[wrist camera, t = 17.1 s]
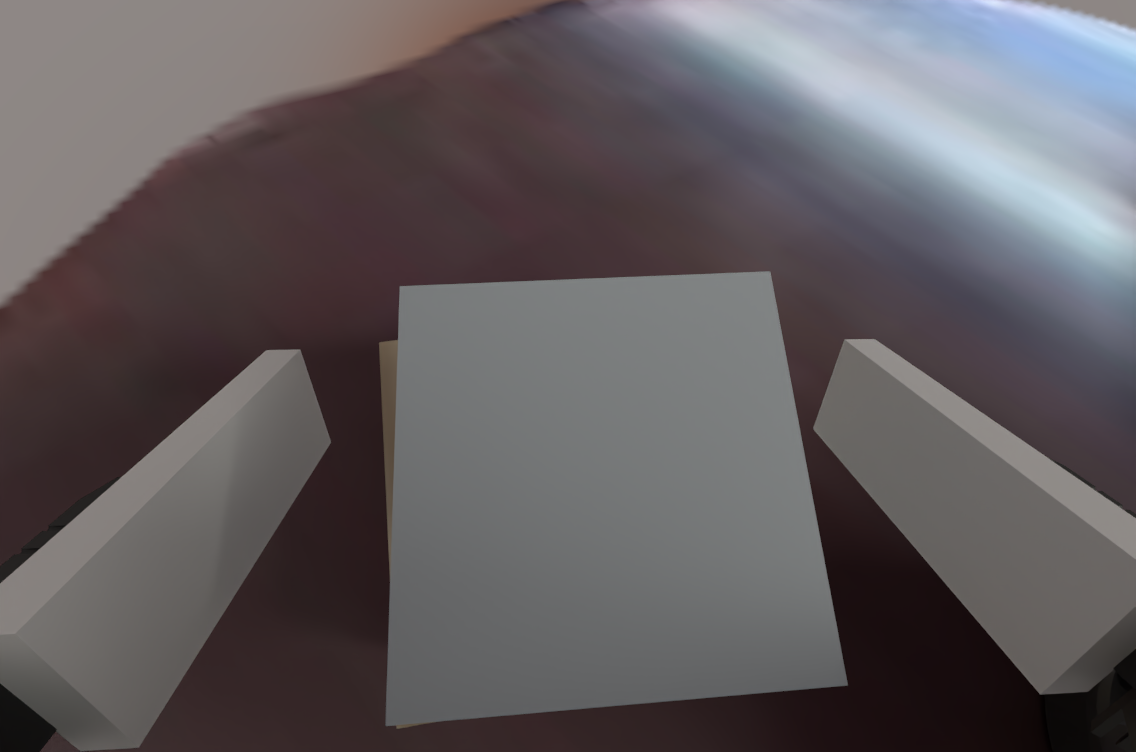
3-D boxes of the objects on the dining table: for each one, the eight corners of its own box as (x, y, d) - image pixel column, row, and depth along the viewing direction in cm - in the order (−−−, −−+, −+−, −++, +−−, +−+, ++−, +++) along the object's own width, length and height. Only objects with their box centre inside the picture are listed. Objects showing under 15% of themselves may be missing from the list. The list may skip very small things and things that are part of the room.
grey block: (632, 409, 18) (769, 271, 7) (645, 552, 17) (847, 684, 5) (496, 417, 18) (399, 286, 7) (500, 563, 17) (385, 726, 5)
